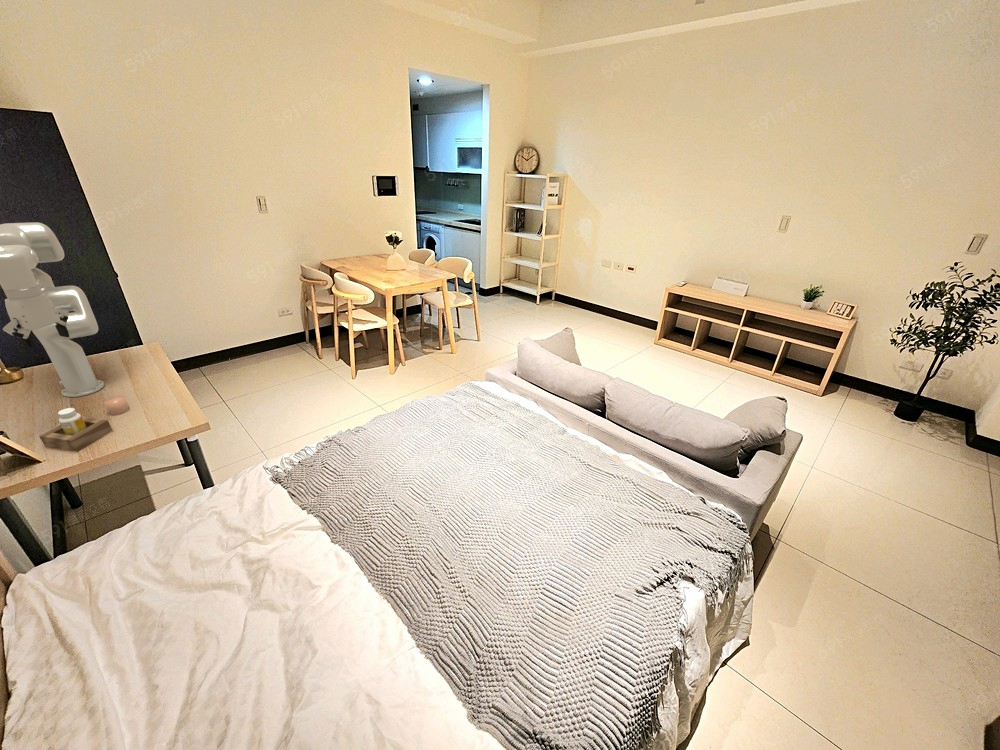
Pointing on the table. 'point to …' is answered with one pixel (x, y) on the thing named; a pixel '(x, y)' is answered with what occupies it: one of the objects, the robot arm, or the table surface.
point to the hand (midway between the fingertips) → (48, 342)
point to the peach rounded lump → (116, 405)
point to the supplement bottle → (71, 421)
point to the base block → (76, 435)
